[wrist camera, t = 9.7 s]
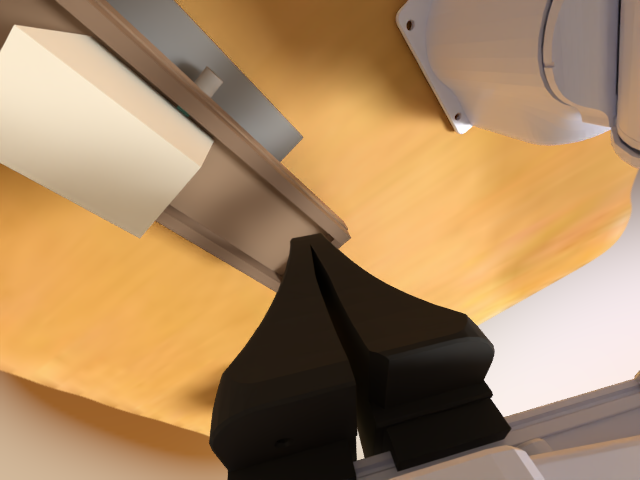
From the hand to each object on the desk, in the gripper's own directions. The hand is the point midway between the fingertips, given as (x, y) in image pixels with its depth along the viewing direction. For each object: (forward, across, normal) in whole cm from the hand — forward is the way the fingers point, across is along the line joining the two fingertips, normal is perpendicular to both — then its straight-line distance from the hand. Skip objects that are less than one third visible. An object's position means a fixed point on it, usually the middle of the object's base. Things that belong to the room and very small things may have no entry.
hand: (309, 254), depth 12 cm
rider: (+7, +7, -5) cm, 11 cm away
